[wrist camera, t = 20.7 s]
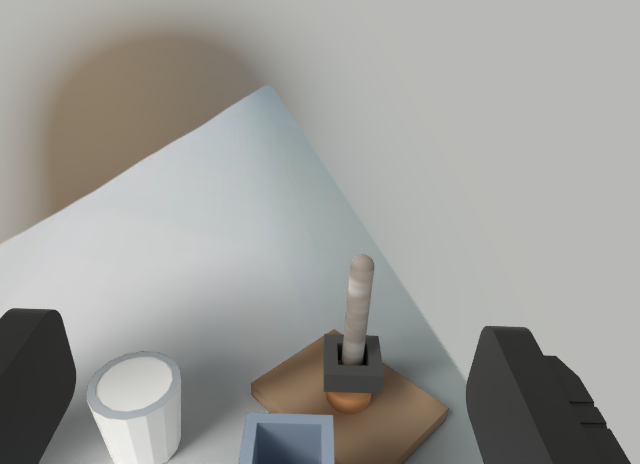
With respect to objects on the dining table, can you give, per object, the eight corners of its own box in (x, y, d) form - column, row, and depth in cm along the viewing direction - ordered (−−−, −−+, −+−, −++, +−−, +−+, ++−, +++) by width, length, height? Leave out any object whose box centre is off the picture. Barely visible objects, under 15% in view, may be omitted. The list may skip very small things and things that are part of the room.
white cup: (110, 495, 38) (94, 433, 34) (95, 427, 43) (79, 367, 39) (199, 456, 41) (192, 396, 37) (175, 397, 46) (167, 340, 42)
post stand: (251, 394, 47) (247, 244, 38) (333, 339, 54) (344, 202, 45) (366, 500, 38) (392, 337, 30) (445, 419, 45) (484, 268, 37)
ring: (323, 392, 41) (324, 374, 40) (323, 350, 46) (324, 334, 45) (381, 393, 42) (384, 376, 41) (375, 352, 46) (378, 335, 45)
